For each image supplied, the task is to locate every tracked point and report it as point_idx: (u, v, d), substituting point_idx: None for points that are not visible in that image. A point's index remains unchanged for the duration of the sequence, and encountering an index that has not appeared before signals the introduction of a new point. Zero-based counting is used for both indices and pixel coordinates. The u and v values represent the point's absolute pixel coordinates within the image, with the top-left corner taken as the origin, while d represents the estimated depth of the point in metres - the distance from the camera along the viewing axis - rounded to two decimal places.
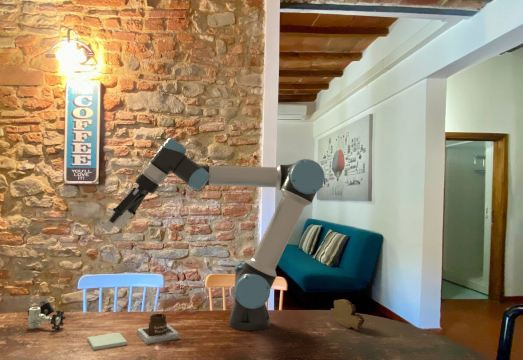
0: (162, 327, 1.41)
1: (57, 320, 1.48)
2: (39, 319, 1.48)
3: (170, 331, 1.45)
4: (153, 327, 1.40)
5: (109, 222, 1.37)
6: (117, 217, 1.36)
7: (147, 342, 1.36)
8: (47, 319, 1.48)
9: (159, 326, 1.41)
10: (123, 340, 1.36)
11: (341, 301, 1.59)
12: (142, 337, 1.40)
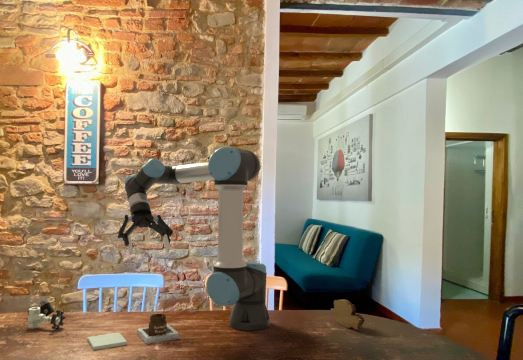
0: (162, 327, 1.41)
1: (57, 320, 1.48)
2: (39, 319, 1.48)
3: (170, 331, 1.45)
4: (153, 327, 1.40)
5: (128, 246, 1.51)
6: (126, 238, 1.52)
7: (147, 342, 1.36)
8: (47, 319, 1.48)
9: (159, 326, 1.41)
10: (123, 340, 1.36)
11: (341, 301, 1.59)
12: (142, 337, 1.40)
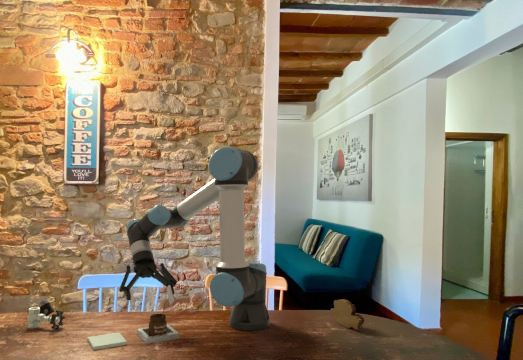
0: (162, 327, 1.41)
1: (56, 320, 1.48)
2: (38, 319, 1.48)
3: (170, 331, 1.45)
4: (153, 327, 1.40)
5: (130, 301, 1.44)
6: (127, 292, 1.45)
7: (147, 342, 1.36)
8: (46, 319, 1.48)
9: (159, 326, 1.41)
10: (123, 340, 1.36)
11: (341, 301, 1.59)
12: (142, 337, 1.40)
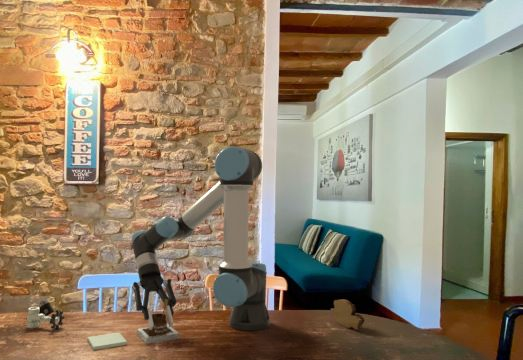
0: (162, 327, 1.41)
1: (56, 320, 1.48)
2: (38, 319, 1.48)
3: (170, 331, 1.45)
4: (153, 327, 1.40)
5: (148, 321, 1.40)
6: (145, 311, 1.41)
7: (147, 342, 1.36)
8: (46, 319, 1.48)
9: (159, 326, 1.41)
10: (123, 340, 1.36)
11: (341, 301, 1.59)
12: (142, 337, 1.40)
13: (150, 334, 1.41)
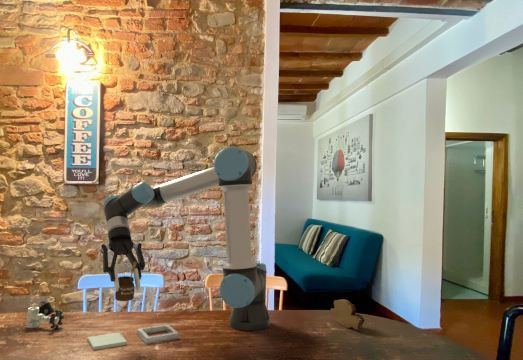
0: (129, 289, 1.38)
1: (56, 320, 1.48)
2: (38, 319, 1.48)
3: (170, 331, 1.45)
4: (119, 289, 1.37)
5: (114, 282, 1.37)
6: (112, 273, 1.38)
7: (147, 342, 1.36)
8: (46, 319, 1.49)
9: (125, 288, 1.38)
10: (123, 340, 1.36)
11: (341, 301, 1.59)
12: (142, 337, 1.40)
13: (116, 296, 1.38)
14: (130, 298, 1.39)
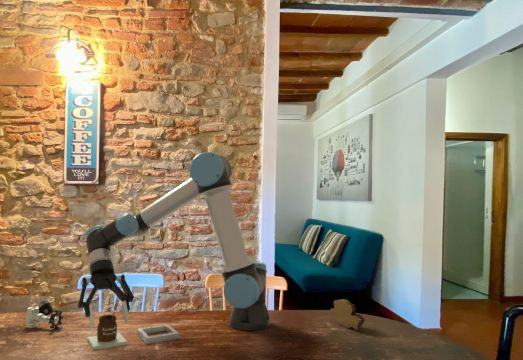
0: (111, 329, 1.35)
1: (55, 319, 1.48)
2: (37, 318, 1.49)
3: (170, 331, 1.45)
4: (101, 330, 1.34)
5: (89, 318, 1.33)
6: (87, 308, 1.34)
7: (147, 342, 1.36)
8: (45, 318, 1.49)
9: (108, 328, 1.34)
10: (123, 340, 1.36)
11: (341, 301, 1.59)
12: (142, 337, 1.40)
13: (98, 337, 1.34)
14: (113, 338, 1.35)
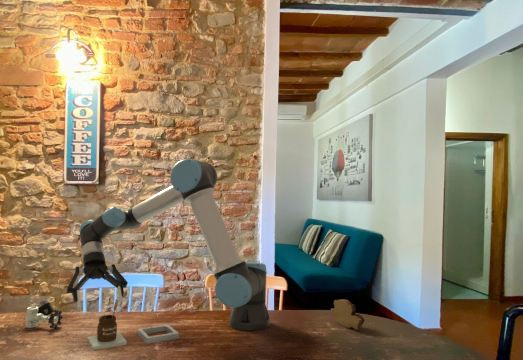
0: (111, 329, 1.35)
1: (55, 319, 1.48)
2: (37, 318, 1.49)
3: (170, 331, 1.45)
4: (101, 330, 1.34)
5: (77, 302, 1.44)
6: (74, 293, 1.45)
7: (147, 342, 1.36)
8: (45, 318, 1.49)
9: (107, 328, 1.34)
10: (123, 340, 1.36)
11: (341, 301, 1.59)
12: (142, 337, 1.40)
13: (98, 337, 1.34)
14: (113, 338, 1.35)
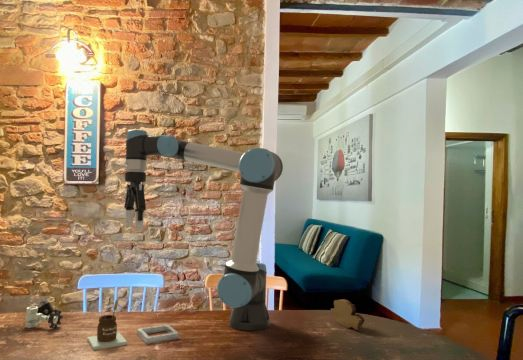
0: (111, 329, 1.35)
1: (54, 319, 1.49)
2: (36, 318, 1.49)
3: (170, 331, 1.45)
4: (101, 330, 1.34)
5: (138, 222, 1.52)
6: None
7: (147, 342, 1.36)
8: (44, 318, 1.49)
9: (107, 328, 1.34)
10: (123, 340, 1.36)
11: (341, 301, 1.59)
12: (142, 337, 1.40)
13: (98, 337, 1.34)
14: (113, 338, 1.35)
